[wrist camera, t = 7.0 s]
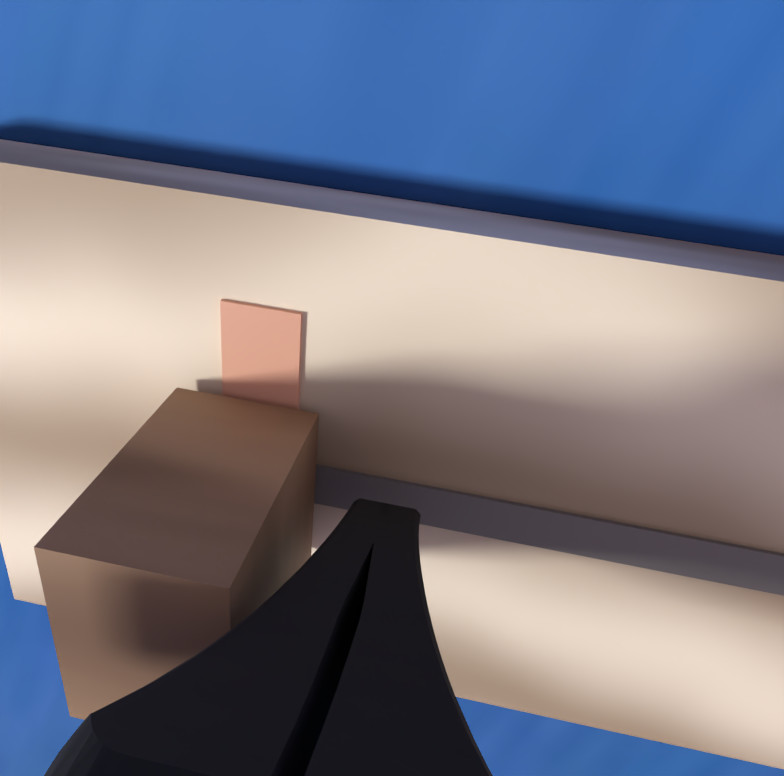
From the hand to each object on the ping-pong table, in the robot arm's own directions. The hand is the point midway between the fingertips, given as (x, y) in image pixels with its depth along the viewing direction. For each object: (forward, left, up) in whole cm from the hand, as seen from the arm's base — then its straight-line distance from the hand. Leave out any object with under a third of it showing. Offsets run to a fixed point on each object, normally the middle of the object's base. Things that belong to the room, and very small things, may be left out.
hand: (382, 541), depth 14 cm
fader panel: (0, -4, -3) cm, 5 cm away
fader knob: (0, +3, -1) cm, 3 cm away
